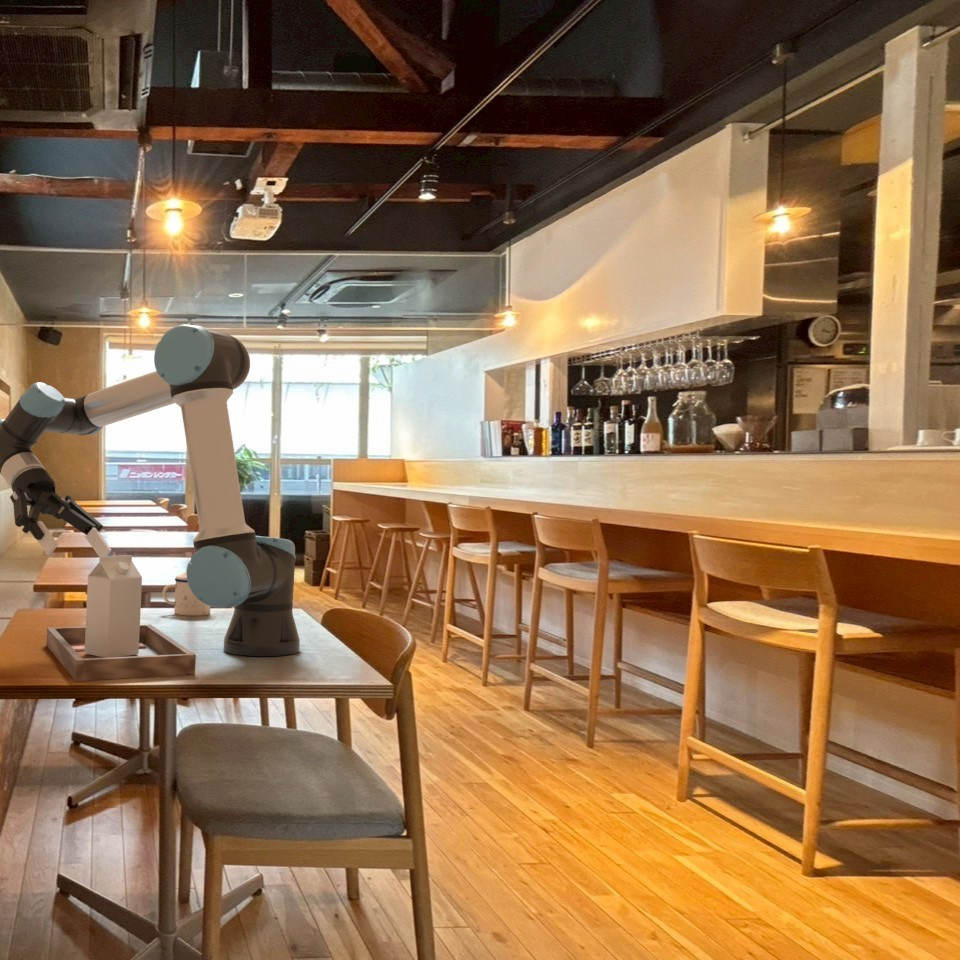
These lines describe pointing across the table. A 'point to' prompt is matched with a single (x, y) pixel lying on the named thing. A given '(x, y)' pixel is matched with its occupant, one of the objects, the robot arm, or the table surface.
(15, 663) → the table surface
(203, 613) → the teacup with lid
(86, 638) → the milk carton
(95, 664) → the box
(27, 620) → the table surface
